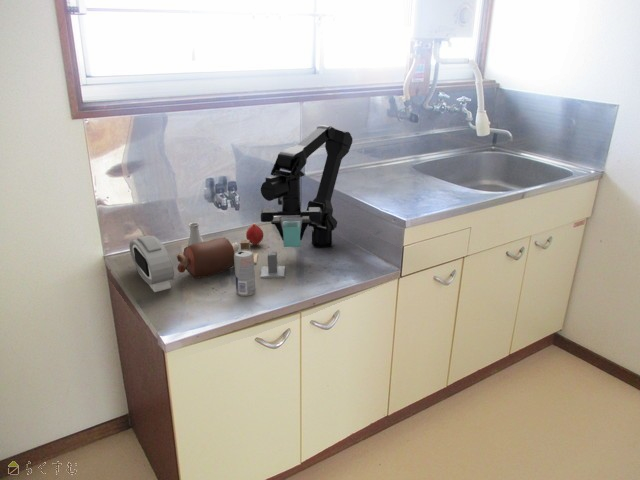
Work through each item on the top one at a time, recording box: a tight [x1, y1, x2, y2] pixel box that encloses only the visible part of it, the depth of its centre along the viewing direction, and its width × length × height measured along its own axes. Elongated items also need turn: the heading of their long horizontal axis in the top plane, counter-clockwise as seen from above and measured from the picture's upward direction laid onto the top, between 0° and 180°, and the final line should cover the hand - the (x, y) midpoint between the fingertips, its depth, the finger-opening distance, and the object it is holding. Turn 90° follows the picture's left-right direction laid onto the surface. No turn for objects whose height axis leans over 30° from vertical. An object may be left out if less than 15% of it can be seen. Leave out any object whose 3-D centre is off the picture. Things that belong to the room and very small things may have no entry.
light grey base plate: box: [260, 251, 286, 279], centre depth 157 cm, size 7×7×6 cm
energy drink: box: [234, 249, 257, 297], centre depth 145 cm, size 5×5×12 cm
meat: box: [176, 237, 240, 279], centre depth 157 cm, size 20×12×10 cm, turn 128°
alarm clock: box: [129, 235, 175, 293], centre depth 152 cm, size 23×6×13 cm, turn 33°
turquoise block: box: [282, 220, 301, 248], centre depth 164 cm, size 5×5×7 cm
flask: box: [187, 222, 205, 247], centre depth 171 cm, size 7×7×10 cm
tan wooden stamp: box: [234, 239, 259, 266], centre depth 166 cm, size 7×7×6 cm
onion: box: [245, 223, 264, 246], centre depth 177 cm, size 6×6×8 cm
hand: (292, 240), depth 165 cm, fingers closed on turquoise block, 5 cm apart
